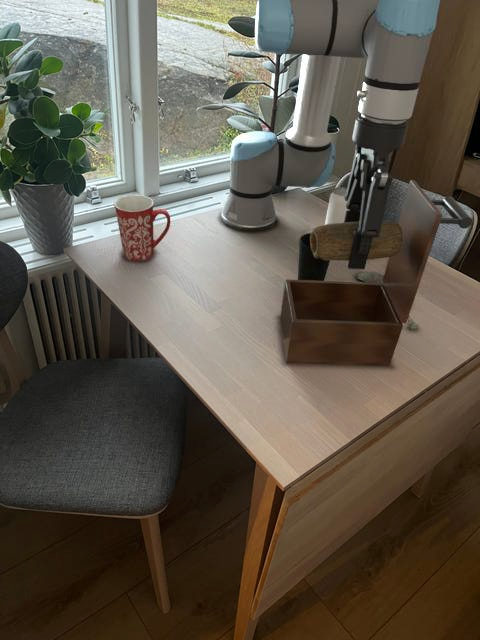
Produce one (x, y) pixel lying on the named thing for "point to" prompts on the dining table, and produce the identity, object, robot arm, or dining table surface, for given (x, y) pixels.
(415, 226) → the lid
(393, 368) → the dining table surface
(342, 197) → the can
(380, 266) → the dining table surface
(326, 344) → the chest
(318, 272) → the cup
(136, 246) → the mug
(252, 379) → the dining table surface
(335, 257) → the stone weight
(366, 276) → the soupspoon
